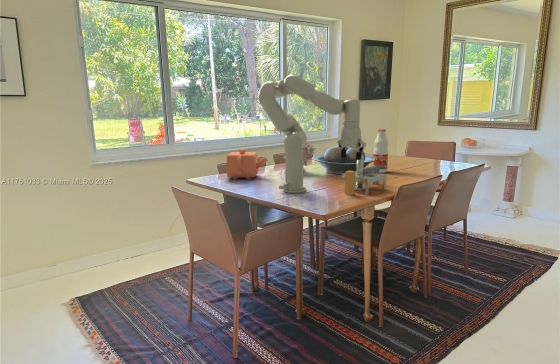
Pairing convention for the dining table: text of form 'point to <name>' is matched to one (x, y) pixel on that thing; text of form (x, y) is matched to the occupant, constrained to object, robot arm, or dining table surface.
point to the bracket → (372, 169)
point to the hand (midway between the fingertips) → (350, 158)
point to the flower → (306, 153)
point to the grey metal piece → (366, 177)
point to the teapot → (243, 164)
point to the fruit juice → (381, 151)
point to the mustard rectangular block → (349, 182)
